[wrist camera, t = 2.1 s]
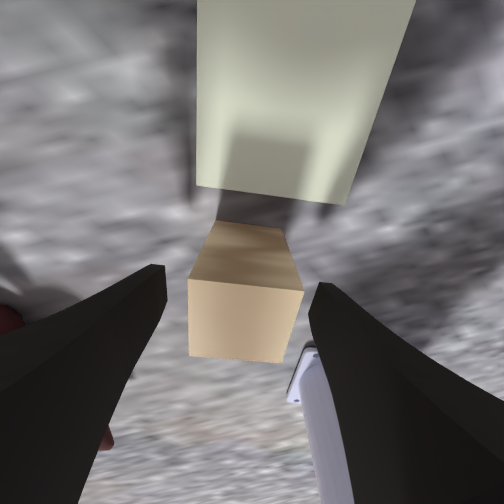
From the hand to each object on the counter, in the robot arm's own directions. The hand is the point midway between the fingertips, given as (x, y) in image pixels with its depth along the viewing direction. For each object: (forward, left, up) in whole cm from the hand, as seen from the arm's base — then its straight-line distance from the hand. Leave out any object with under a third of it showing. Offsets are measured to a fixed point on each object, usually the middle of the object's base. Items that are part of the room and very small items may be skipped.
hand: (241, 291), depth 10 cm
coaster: (-1, -8, -4) cm, 9 cm away
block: (0, 0, -4) cm, 4 cm away
